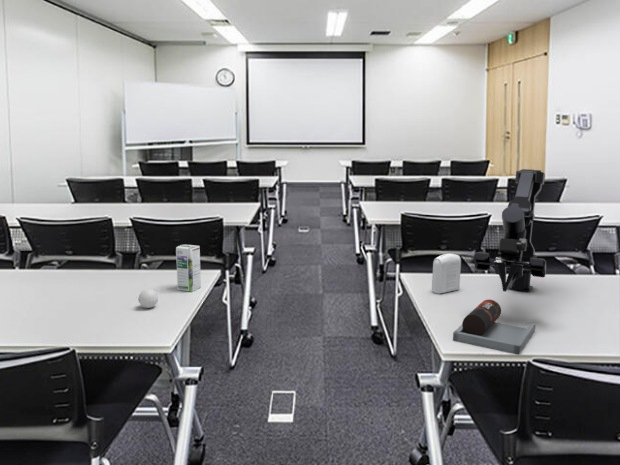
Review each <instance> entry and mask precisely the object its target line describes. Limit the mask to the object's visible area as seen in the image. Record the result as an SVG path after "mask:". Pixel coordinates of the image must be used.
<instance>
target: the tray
mask: <svg viewBox="0 0 620 465" xmlns="http://www.w3.org/2000/svg"><path fill="white" fill-rule="evenodd" d="M535 330H536V323H534V322H530V323H529V325H528V326H527V327H521V326H517V325H511V324H505V323H502V322H496V321H495V322H494V323H493V324H492V325H491V326H490V327H489V328H488V330H487V331H486V332H485V333H484V334H483V335H482V336H477V335H472V334H467V333H465V331H464V329H463V326H462V324H461V325H460V326H458V328H457V329H455V330H454V331H453V334H452V335H453V336H452V341H455V342H456V341H457V342H461V343H466V344H470V345H475V346H478V347H479V346H480V347H484V348H489V349H493V350H499V351H502V352H503V351H504V352H508V353H513V354H517V355H519V354H520V353H521V352H522V351H523V350H524V348H525V346H526V345H527V343H528V341H529V340H530V339H531V337H532V336H533V334H534V332H535Z"/></svg>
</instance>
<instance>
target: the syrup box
mask: <svg viewBox="0 0 620 465" xmlns="http://www.w3.org/2000/svg"><path fill="white" fill-rule="evenodd" d="M200 248H201V247H200V245H193V244H180V245H178V246H176V247H175V256H176V258H175V259H176V279H177V280H176V281H177V285H176V287H177V291H186V292H195V291H196V290H199V289H200V288H202V287H201V285H202V284H201V283H202V282H201V281H202V280H201V277H202V276H201V252H200V251H201V250H200Z"/></svg>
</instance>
